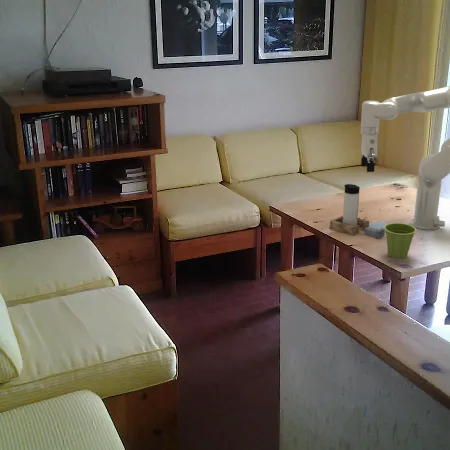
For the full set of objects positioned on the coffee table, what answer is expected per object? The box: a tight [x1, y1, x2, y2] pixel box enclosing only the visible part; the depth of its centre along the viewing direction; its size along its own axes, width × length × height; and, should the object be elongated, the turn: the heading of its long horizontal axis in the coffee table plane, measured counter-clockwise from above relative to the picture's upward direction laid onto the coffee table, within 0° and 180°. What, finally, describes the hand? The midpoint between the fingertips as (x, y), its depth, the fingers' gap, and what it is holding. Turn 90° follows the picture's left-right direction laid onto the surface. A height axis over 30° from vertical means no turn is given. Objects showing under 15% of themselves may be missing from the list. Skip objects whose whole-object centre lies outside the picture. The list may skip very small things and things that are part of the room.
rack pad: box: [369, 220, 390, 234], centre depth 245 cm, size 10×10×1 cm
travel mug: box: [342, 183, 361, 226], centre depth 241 cm, size 6×7×20 cm
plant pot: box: [384, 222, 417, 259], centre depth 214 cm, size 12×12×11 cm
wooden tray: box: [329, 215, 370, 236], centre depth 244 cm, size 12×11×4 cm
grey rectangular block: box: [363, 227, 385, 240], centre depth 236 cm, size 7×4×3 cm, turn 45°
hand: (367, 168), depth 245 cm, fingers open, 9 cm apart
